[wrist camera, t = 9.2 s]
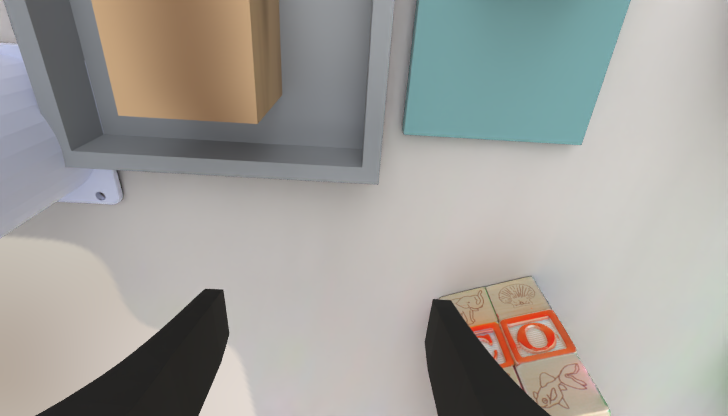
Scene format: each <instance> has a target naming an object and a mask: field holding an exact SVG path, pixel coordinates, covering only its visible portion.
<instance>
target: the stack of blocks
mask: <svg viewBox="0 0 728 416" xmlns="http://www.w3.org/2000/svg"><path fill="white" fill-rule="evenodd" d="M439 300H451V301H452V303H453V304H454V305H455V307H456V308H457V310H458V311H459V313H460V314H461V316H462V317H463V318H464V320H465V321H466V323H467V324H468V325H469V327H470V328H471V330H472V331H473V332H474V334H475V335H476V336H477V338H478V339H479V340H480V341H481V343H482V344H483V345H484V347H485V348H486V349H487V350H488V352H489V353H490V354H491V355H492V357H493V358H494V359H495V360H496V361H497V362H498V364H499V365H500V366H501V367H502V368H503V369H504V371H505V372H506V373H507V374H508V375H509V376H510V377H511V378H512V379H513V380H514V381H515V382H516V383H517V384H518V385H519V386H520V387H521V388H522V389H523V390H524V391H525V392H526V393H527V394H528V395H529V396H530V397H531V398H532V399H533V400H534V401H535V402H536V403H537V404H538V405H539V406H541V407H542V408H543V409H544V410H545V411H546V412H548V413H549V414H550V415H551V416H611V413H610V409H609V407H608V405H607V403H606V402H605V400H604V399H603V397H602V395H601V393H600V391H599V390H598V388H597V387H596V385H595V383H594V382H593V380H592V379H591V377H590V375H589V373H588V372H587V370H586V368H585V366H584V365H583V363H582V362H581V360H580V358H579V357H578V356H577V349H576V347H575V345H574V344H573V342H572V340H571V339H570V337H569V335H568V334H567V332H566V330H565V329H564V327H563V325H562V324H561V322H560V321H559V319H558V317H557V316H556V314H555V312H554V311H553V310H552V308H551V307H550V305H549V303H548V301H547V300H546V299H545V297H544V295H543V293H542V292H541V290H540V289H539V287H538V285H537V284H536V282H535V280H534V279H533V277H532V276H530V277H525V278H521V279H517V280H512V281H508V282H504V283H500V284H495V285H491V286H487V287H481V288H476V289H473V290H468V291H464V292H460V293H456V294H452V295H448V296H444V297H441V298H439Z"/></svg>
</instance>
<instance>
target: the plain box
mask: <svg viewBox="0 0 728 416" xmlns="http://www.w3.org/2000/svg"><path fill="white" fill-rule="evenodd" d="M91 2H92V6H93V10H94V14H95V19H96V23H97V27H98V31H99V35H100V40H101V44H102V48H103V52H104V57H105V61H106V65H107V69H108V74H109V78H110V82H111V86H112V90H113V95H114V99H115V103H116V107H117V112H118V116H132V117H149V118H166V119H182V120H199V121H216V122H232V123H249V124H258V123H259V122H260V121H261V119H262V118H263V117H264V116H265V115H266V113H267V112H268V111H269V110H270V109H271V108H272V106H273V105H274V104H275V103H276V102H277V100H278V99H279V98H280V97H281V96H282V72H281V44H280V16H279V0H91Z"/></svg>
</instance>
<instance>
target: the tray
mask: <svg viewBox="0 0 728 416" xmlns="http://www.w3.org/2000/svg"><path fill="white" fill-rule="evenodd" d="M3 1H4V4H5V7H6V10H7V13H8V16H9V19H10V22H11V25H12V28H13V31H14V34H15V37H16V40H17V43H18V46H19V49H20V52H21V55H22V58H23V61H24V64H25V68H26V71H27V74H28V77H29V80H30V83H31V86H32V89H33V92H34V95H35V98H36V101H37V104H38V107H39V110H40V113H41V115H42V116H43V117H44V118H45V120H46V121H47V123H48V124H49V126H50V127H51V129H52V131H53V132H54V134H55V135H56V138H57V140H58V142H59V145H60V147H61V149H62V153H63V158H64V162H65V167H70V168H88V169H106V170H124V171H142V172H160V173H178V174H196V175H214V176H232V177H250V178H268V179H287V180H305V181H323V182H341V183H359V184H377V185H378V184H379V172H380V161H381V150H382V138H383V127H384V116H385V104H386V93H387V82H388V70H389V59H390V48H391V36H392V25H393V14H394V2H395V0H279V16H280V44H281V72H282V96H281V97H280V98H279V99H278V100H277V102H276V103H275V104H274V105H273V106H272V108H271V109H270V110H269V111H268V112H267V113H266V115H265V116H264V117H263V118H262V119H261V121H260V122H259V123H258V124H249V123H232V122H216V121H199V120H182V119H166V118H149V117H132V116H118V112H117V107H116V103H115V99H114V95H113V90H112V86H111V82H110V78H109V74H108V69H107V65H106V61H105V57H104V52H103V48H102V44H101V40H100V35H99V31H98V27H97V23H96V19H95V14H94V10H93V6H92V2H91V0H3ZM84 60H85V62H84ZM85 63H86V65H85ZM86 67H87V69H86ZM87 70H88V73H87ZM88 74H89V77H88ZM89 78H90V81H89ZM90 82H91V85H90ZM91 86H92V88H91ZM92 90H93V92H92ZM93 93H94V96H93ZM94 97H95V100H94ZM95 101H96V104H95ZM96 105H97V108H96ZM97 109H98V111H97ZM98 113H99V115H98ZM99 117H100V119H99ZM100 120H101V123H100ZM101 124H102V127H101ZM102 128H103V131H102ZM103 132H104V134H103Z"/></svg>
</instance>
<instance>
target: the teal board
mask: <svg viewBox="0 0 728 416" xmlns="http://www.w3.org/2000/svg"><path fill="white" fill-rule="evenodd" d="M630 1H631V0H417V3H416V12H415V21H414V30H413V39H412V48H411V57H410V65H409V74H408V83H407V92H406V101H405V110H404V119H403V128H402V130H403V134H405V135H421V136H438V137H455V138H471V139H488V140H505V141H522V142H538V143H555V144H572V145H582V142H583V139H584V136H585V133H586V130H587V127H588V124H589V121H590V118H591V115H592V112H593V109H594V106H595V104H596V101H597V98H598V95H599V92H600V89H601V86H602V83H603V80H604V77H605V74H606V71H607V68H608V65H609V62H610V59H611V57H612V54H613V51H614V48H615V45H616V42H617V39H618V36H619V33H620V30H621V27H622V24H623V21H624V18H625V15H626V12H627V10H628V7H629V4H630Z"/></svg>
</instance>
